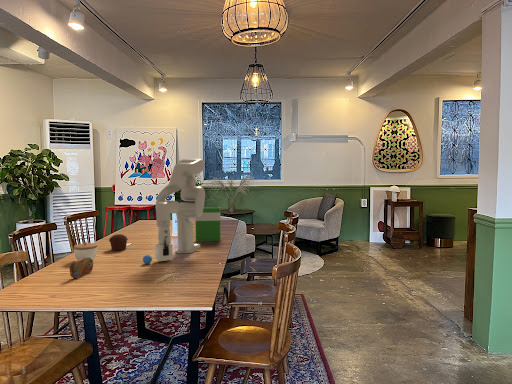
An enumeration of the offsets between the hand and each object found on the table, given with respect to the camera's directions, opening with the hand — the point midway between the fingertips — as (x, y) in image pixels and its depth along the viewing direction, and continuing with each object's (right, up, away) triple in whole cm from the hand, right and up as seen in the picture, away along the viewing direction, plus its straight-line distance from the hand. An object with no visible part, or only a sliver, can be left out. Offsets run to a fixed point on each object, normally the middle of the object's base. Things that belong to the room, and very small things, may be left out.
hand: (164, 253), depth 214 cm
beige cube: (0, -3, 0) cm, 3 cm away
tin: (-35, -7, -26) cm, 44 cm away
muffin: (-38, -3, +32) cm, 50 cm away
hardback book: (+18, 0, +62) cm, 64 cm away
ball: (-8, -2, -4) cm, 10 cm away
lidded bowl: (-47, -5, +4) cm, 47 cm away
